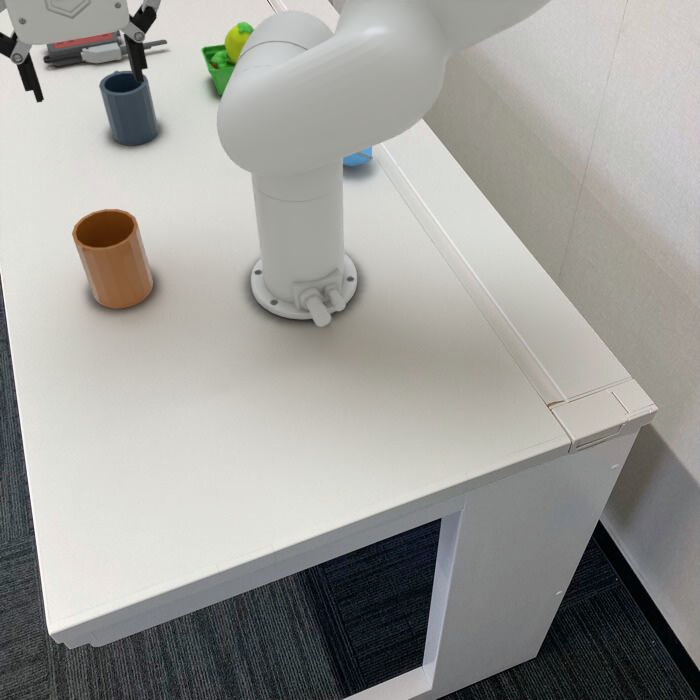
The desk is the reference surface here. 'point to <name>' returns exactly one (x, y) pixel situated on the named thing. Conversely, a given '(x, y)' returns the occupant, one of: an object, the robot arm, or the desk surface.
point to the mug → (129, 108)
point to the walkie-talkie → (90, 49)
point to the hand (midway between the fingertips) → (89, 85)
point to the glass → (113, 258)
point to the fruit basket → (226, 55)
